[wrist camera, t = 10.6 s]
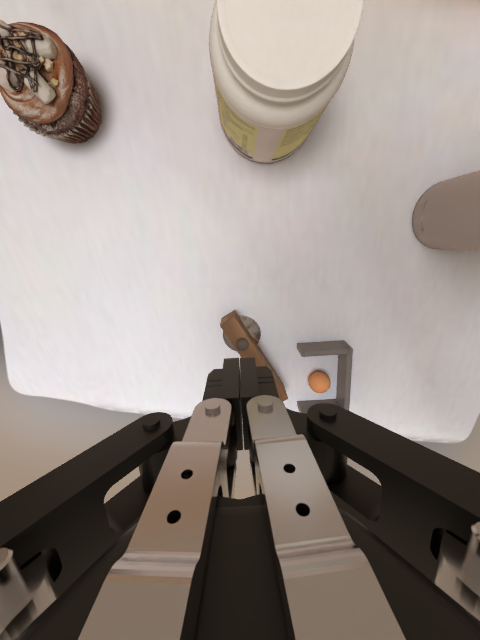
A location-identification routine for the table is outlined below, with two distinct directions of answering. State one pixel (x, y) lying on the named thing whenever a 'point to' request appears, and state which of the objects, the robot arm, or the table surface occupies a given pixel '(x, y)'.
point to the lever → (248, 346)
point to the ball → (319, 382)
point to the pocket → (342, 377)
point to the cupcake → (46, 83)
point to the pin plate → (250, 326)
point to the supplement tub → (278, 68)
